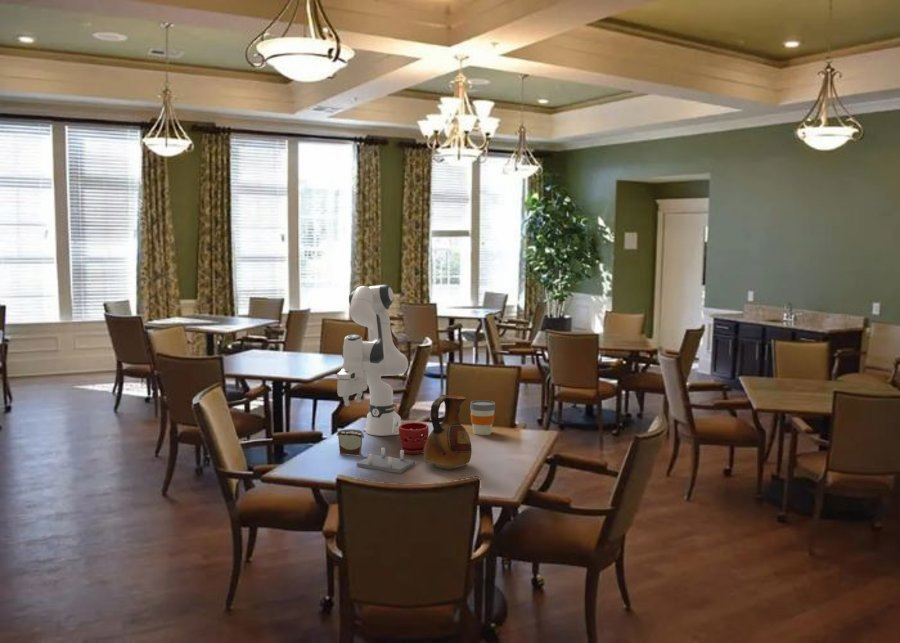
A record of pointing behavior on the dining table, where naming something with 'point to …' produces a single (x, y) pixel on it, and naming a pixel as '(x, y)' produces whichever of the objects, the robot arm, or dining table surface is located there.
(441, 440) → the ceramic pitcher
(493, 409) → the reusable coffee cup
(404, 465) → the pin tray
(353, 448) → the food container
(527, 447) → the dining table surface
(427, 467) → the dining table surface
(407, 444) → the plant pot
